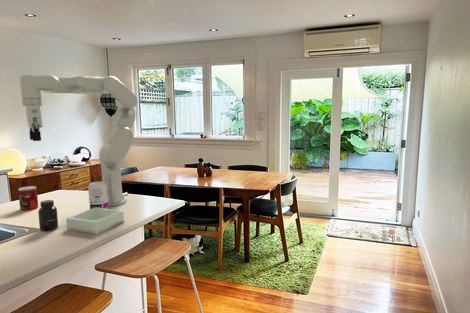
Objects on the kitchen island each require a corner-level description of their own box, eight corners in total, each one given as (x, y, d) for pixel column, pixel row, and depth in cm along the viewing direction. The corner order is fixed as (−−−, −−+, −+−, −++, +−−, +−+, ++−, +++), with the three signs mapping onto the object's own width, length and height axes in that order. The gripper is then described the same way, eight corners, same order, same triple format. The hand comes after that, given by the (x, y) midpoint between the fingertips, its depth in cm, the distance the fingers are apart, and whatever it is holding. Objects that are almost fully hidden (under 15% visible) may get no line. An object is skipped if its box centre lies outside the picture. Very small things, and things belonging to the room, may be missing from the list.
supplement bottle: (50, 232, 133) (47, 204, 131) (35, 231, 134) (33, 203, 132) (62, 226, 139) (59, 199, 138) (48, 225, 141) (45, 198, 139)
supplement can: (104, 209, 163) (102, 180, 161) (111, 213, 157) (109, 182, 155) (87, 213, 157) (85, 183, 155) (94, 217, 151) (92, 185, 149)
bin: (96, 217, 150) (95, 207, 149) (124, 221, 144) (123, 210, 144) (67, 229, 135) (66, 218, 135) (96, 234, 130) (95, 222, 129)
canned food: (16, 210, 165) (14, 189, 163) (31, 205, 172) (29, 185, 170) (27, 211, 162) (24, 190, 160) (41, 207, 169) (39, 186, 168)
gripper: (44, 102, 143) (47, 140, 145) (38, 103, 156) (42, 138, 159) (24, 102, 138) (28, 141, 141) (20, 103, 152) (23, 139, 154)
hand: (35, 140), depth 150 cm, fingers open, 9 cm apart
